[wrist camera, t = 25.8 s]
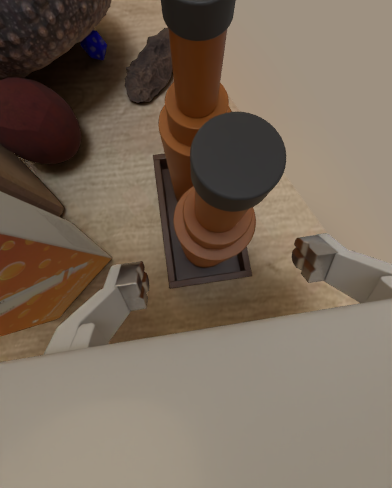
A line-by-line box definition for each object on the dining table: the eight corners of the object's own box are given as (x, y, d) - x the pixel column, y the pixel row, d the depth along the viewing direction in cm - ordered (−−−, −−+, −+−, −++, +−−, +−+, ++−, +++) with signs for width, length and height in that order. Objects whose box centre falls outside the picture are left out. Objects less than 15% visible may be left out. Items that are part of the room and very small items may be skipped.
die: (91, 69, 25) (70, 38, 23) (101, 61, 26) (82, 31, 24) (105, 58, 24) (84, 24, 21) (115, 50, 25) (96, 18, 23)
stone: (118, 98, 25) (151, 117, 25) (109, 81, 23) (145, 101, 22) (163, 29, 25) (196, 47, 25) (159, 6, 23) (196, 25, 23)
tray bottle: (189, 219, 21) (175, 58, 5) (166, 185, 22) (95, -47, 6) (224, 197, 22) (304, -12, 6) (201, 164, 22) (218, -105, 6)
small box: (60, 319, 20) (-185, 400, 7) (16, 279, 21) (-282, 285, 8) (115, 257, 21) (-11, 229, 8) (72, 220, 22) (-108, 140, 9)
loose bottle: (216, 274, 20) (294, 272, 5) (176, 257, 21) (116, 197, 5) (233, 234, 21) (350, 112, 5) (193, 218, 21) (192, 54, 6)
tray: (245, 275, 21) (252, 276, 18) (172, 286, 21) (169, 288, 18) (223, 159, 23) (227, 145, 21) (157, 168, 23) (152, 154, 20)
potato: (77, 184, 22) (24, 143, 15) (15, 164, 23) (-65, 114, 16) (103, 129, 23) (64, 67, 16) (43, 110, 24) (-20, 42, 17)
